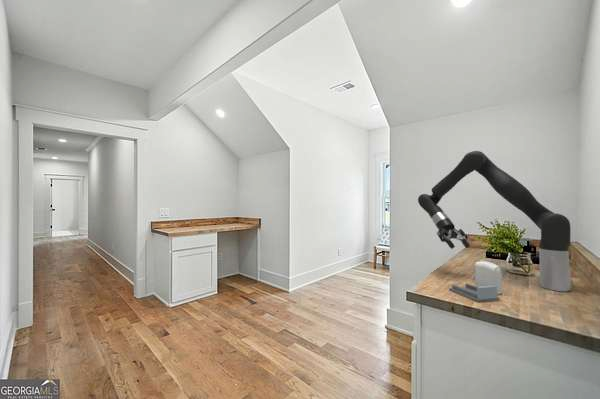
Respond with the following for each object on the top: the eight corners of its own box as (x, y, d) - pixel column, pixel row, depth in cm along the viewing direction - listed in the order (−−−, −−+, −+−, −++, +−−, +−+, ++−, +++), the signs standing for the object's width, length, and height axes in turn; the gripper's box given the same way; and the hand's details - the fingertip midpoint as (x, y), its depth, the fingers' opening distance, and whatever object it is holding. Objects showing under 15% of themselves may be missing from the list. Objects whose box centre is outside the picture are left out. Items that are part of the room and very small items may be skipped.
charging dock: (468, 288, 112) (468, 276, 112) (499, 300, 98) (498, 286, 98) (449, 290, 110) (449, 277, 110) (477, 302, 96) (477, 288, 96)
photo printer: (473, 287, 114) (472, 259, 114) (481, 286, 115) (480, 259, 115) (495, 295, 104) (495, 265, 104) (504, 294, 105) (503, 264, 105)
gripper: (434, 217, 131) (452, 243, 119) (458, 217, 134) (477, 242, 122) (427, 227, 136) (444, 252, 125) (450, 226, 139) (468, 251, 127)
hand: (460, 247), depth 123 cm, fingers open, 8 cm apart
